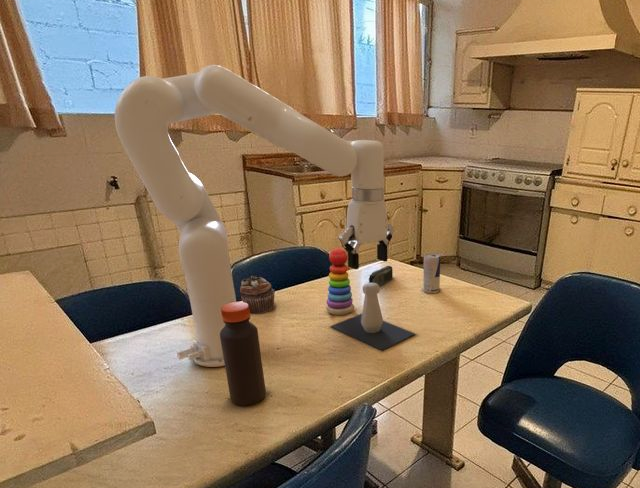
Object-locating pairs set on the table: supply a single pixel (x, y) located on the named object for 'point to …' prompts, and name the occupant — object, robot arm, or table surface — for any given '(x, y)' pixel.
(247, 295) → the cupcake
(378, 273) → the mobile phone
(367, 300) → the salt shaker
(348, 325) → the mat
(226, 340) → the bottle
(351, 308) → the stacking toy
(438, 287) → the energy drink
